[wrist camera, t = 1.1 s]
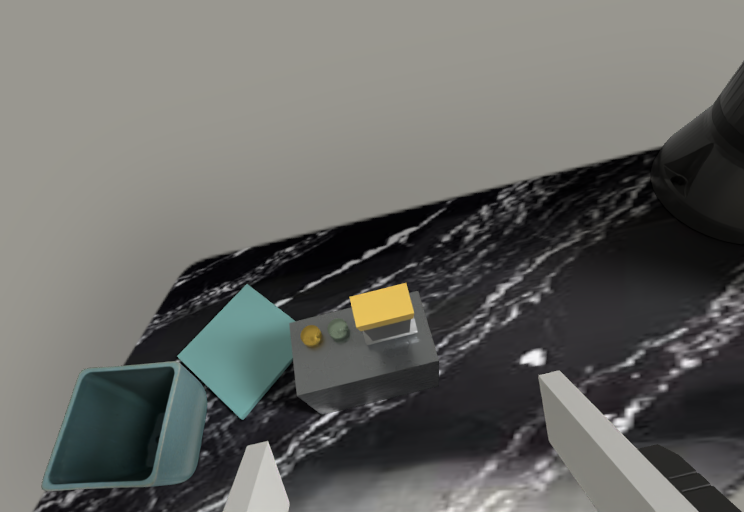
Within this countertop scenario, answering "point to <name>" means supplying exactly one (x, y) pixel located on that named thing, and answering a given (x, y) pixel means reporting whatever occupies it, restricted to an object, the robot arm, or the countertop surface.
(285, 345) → the pad
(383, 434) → the countertop surface
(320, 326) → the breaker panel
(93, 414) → the flower pot
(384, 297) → the lever
